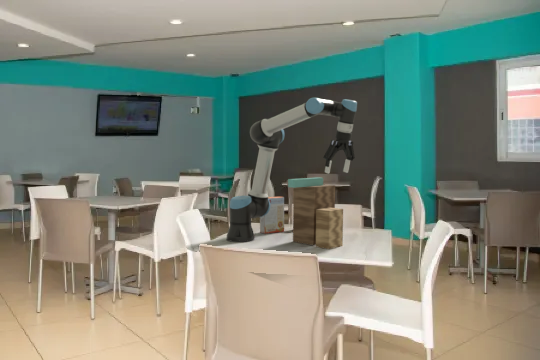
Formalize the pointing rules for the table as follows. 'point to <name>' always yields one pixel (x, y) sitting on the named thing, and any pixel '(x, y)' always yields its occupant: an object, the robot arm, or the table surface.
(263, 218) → the cracker box
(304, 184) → the batten
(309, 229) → the tall stand
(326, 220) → the short stand
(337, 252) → the table surface
